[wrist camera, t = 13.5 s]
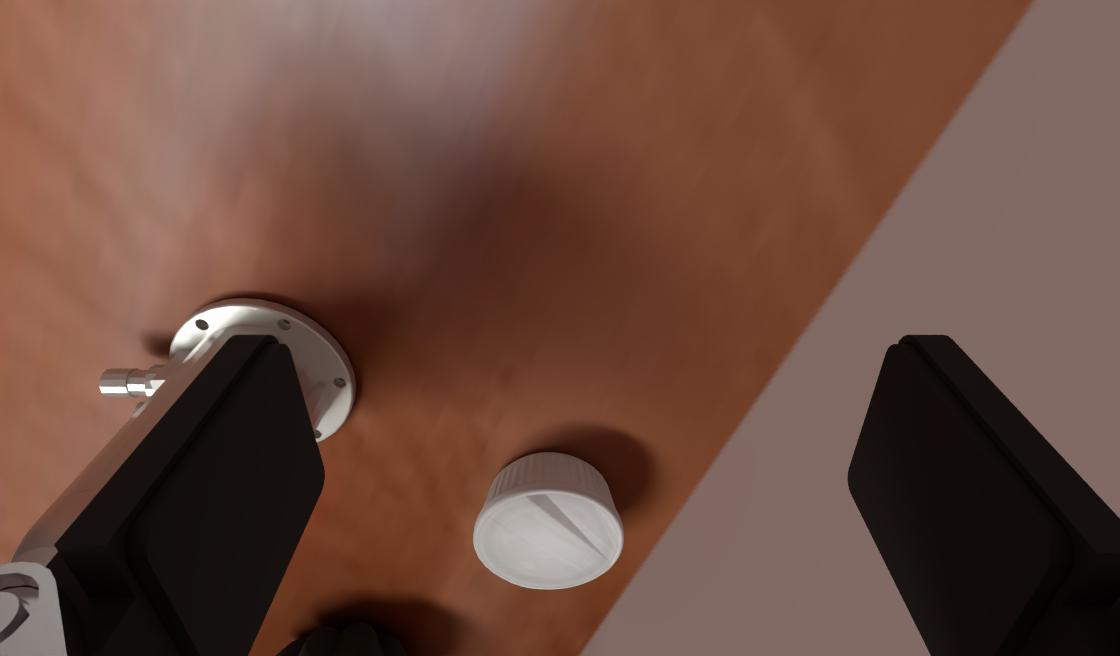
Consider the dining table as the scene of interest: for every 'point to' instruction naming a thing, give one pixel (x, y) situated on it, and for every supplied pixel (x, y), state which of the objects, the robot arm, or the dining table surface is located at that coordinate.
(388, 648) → the squash
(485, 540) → the ramekin
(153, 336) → the dining table surface
